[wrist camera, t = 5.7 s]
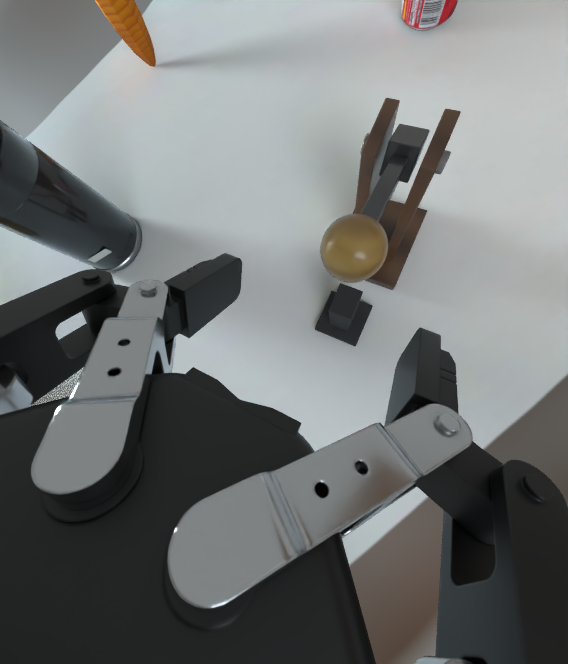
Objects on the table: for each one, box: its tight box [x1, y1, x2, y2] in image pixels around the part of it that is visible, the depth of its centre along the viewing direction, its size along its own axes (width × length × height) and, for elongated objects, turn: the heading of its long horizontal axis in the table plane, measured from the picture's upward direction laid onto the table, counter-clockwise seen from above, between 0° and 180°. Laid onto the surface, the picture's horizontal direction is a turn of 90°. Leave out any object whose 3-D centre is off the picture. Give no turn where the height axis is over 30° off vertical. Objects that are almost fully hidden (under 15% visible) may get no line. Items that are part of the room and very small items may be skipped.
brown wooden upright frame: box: [353, 98, 461, 290], centre depth 26 cm, size 10×8×16 cm
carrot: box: [95, 0, 156, 67], centre depth 37 cm, size 5×5×15 cm
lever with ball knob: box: [320, 124, 429, 282], centre depth 17 cm, size 14×4×4 cm, turn 155°
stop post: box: [315, 283, 373, 346], centre depth 29 cm, size 5×5×8 cm
